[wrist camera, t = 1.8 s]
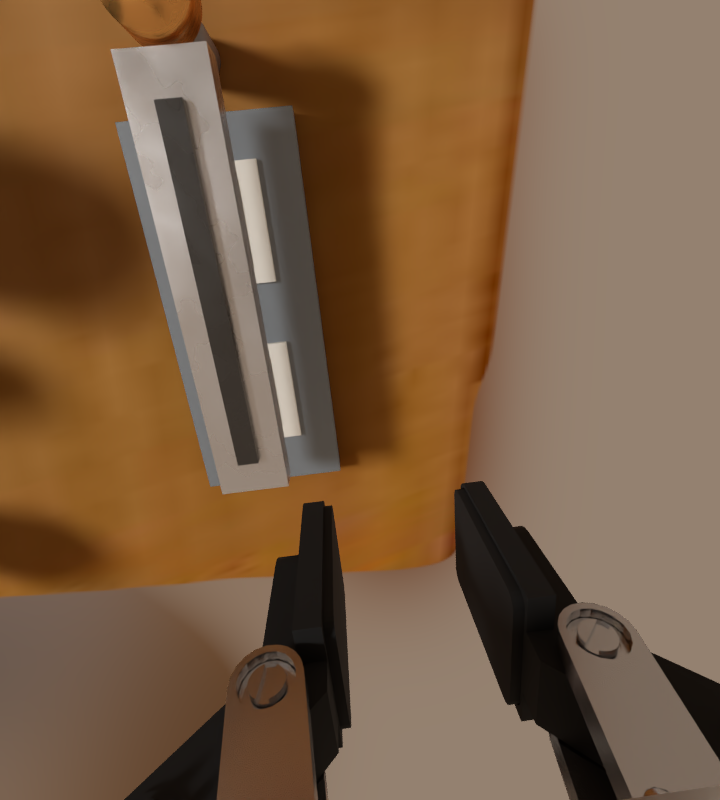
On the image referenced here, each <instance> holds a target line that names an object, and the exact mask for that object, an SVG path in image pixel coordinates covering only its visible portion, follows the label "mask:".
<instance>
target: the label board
mask: <svg viewBox="0 0 720 800" xmlns="http://www.w3.org/2000/svg"><path fill="white" fill-rule="evenodd" d="M200 41H207V43H208V45H209V46H210V48H211V50H212V51H213V53H214V54H215V56H216V62H217V67H218V73H219V71H220V66H221V61H220V55H219V52H218V50H217V48H216V46H215V45H214V43H213V41H212V39H211V38H210V36H209V34H208V33H207V31H206V29H205V27H204V26H203V24H202V22H201V26H200V29H199V32H198V35H197V37H196V38H195V40H194V41H193V42H200ZM226 117H227V123H228V128H229V134H230V139H231V145H232V150H233V156H234V161H235V167H236V172H237V178H238V183H239V189H240V194H241V200H242V206H243V211H244V217H245V222H246V228H247V233H248V239H249V244H250V250H251V255H252V261H253V266H254V272H255V278H256V283H257V289H258V294H259V300H260V305H261V311H262V316H263V322H264V327H265V333H266V338H267V344H268V349H269V355H270V361H271V366H272V372H273V377H274V383H275V388H276V394H277V399H278V405H279V410H280V416H281V421H282V427H283V432H284V438H285V444H286V449H287V455H288V460H289V466H290V471H291V474H290V477H291V476H300V475H308V474H316V473H324V472H332V471H340V459H339V451H338V444H337V436H336V428H335V421H334V413H333V406H332V398H331V390H330V383H329V375H328V368H327V360H326V352H325V345H324V337H323V330H322V322H321V315H320V307H319V299H318V292H317V284H316V277H315V269H314V261H313V254H312V246H311V239H310V231H309V224H308V216H307V208H306V201H305V193H304V186H303V178H302V170H301V163H300V155H299V148H298V140H297V133H296V125H295V117H294V111H293V107H292V106H282V107H271V108H261V109H250V110H240V111H230V112H226ZM115 123H116V127H117V131H118V135H119V139H120V143H121V146H122V150H123V154H124V158H125V162H126V165H127V169H128V173H129V177H130V181H131V185H132V188H133V192H134V196H135V200H136V204H137V208H138V211H139V215H140V219H141V223H142V227H143V230H144V234H145V238H146V242H147V246H148V250H149V253H150V257H151V261H152V265H153V269H154V273H155V276H156V280H157V284H158V288H159V292H160V295H161V299H162V303H163V307H164V311H165V315H166V318H167V322H168V326H169V330H170V334H171V337H172V341H173V345H174V349H175V353H176V357H177V360H178V364H179V368H180V372H181V376H182V380H183V383H184V387H185V391H186V395H187V399H188V402H189V406H190V410H191V414H192V418H193V422H194V425H195V429H196V433H197V437H198V441H199V445H200V448H201V452H202V456H203V460H204V464H205V467H206V471H207V475H208V479H209V483H210V487H211V486H219V485H220V482H219V478H218V474H217V470H216V466H215V462H214V458H213V454H212V450H211V446H210V442H209V438H208V434H207V430H206V426H205V422H204V418H203V414H202V410H201V406H200V402H199V398H198V394H197V390H196V386H195V382H194V378H193V374H192V370H191V366H190V362H189V359H188V355H187V351H186V347H185V343H184V339H183V335H182V331H181V327H180V323H179V319H178V315H177V311H176V307H175V303H174V299H173V295H172V291H171V287H170V283H169V279H168V275H167V271H166V267H165V263H164V259H163V255H162V251H161V247H160V243H159V239H158V235H157V231H156V227H155V223H154V219H153V215H152V211H151V207H150V204H149V200H148V196H147V192H146V188H145V184H144V180H143V176H142V172H141V168H140V164H139V160H138V156H137V152H136V148H135V144H134V140H133V136H132V132H131V128H130V124H129V121H125V122H115Z"/></svg>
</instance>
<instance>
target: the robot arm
mask: <svg viewBox="0 0 720 800" xmlns="http://www.w3.org/2000/svg"><path fill="white" fill-rule="evenodd" d="M454 497H455V540H456V570H457V576H458V580H459V583H460V586H461V588H462V591H463V593H464V596H465V599H466V601H467V604H468V606H469V609H470V612H471V614H472V617H473V619H474V622H475V624H476V627H477V630H478V632H479V635H480V637H481V640H482V642H483V645H484V648H485V650H486V653H487V655H488V658H489V661H490V663H491V666H492V669H493V671H494V674H495V676H496V679H497V682H498V684H499V687H500V689H501V692H502V694H503V697H504V699H505V702H506V703H507V704H508V705H511V704H515V706H516V709H517V711H518V714H519V716H520V719H521V721H527V720H533V719H534V721H535V723H536V724H537V725H538V726H540V727H542V728H543V729H545V730H546V731H548V732H549V737H550V741H551V744H552V747H553V750H554V753H555V756H556V759H557V762H558V766H559V768H560V772H561V775H562V778H563V781H564V784H565V787H566V790H567V793H568V796H569V799H570V800H720V684H719V683H717V682H715V681H712V680H710V679H708V678H706V677H704V676H701V675H699V674H697V673H695V672H693V671H691V670H688V669H686V668H684V667H682V666H680V665H677V664H675V663H673V662H671V661H669V660H666V659H664V658H662V657H660V656H658V655H656V654H653V653H651V652H650V650H649V649H648V647H647V646H646V644H645V643H644V641H643V639H642V638H641V636H640V635H639V633H638V632H637V630H636V629H635V628H634V627H633V626H632V624H631V623H630V622H629V621H628V620H627V619H625V618H624V617H623V616H621V615H620V614H619V613H617V612H615V611H613V610H611V609H609V608H607V607H605V606H601V605H598V604H595V603H583V602H582V603H577V602H576V600H575V599H574V597H573V596H572V594H571V593H570V592H569V590H568V589H567V587H566V586H565V584H564V583H563V582H562V580H561V578H560V577H559V576H558V574H557V573H556V571H555V570H554V568H553V567H552V565H551V564H550V562H549V561H548V560H547V558H546V557H545V555H544V554H543V552H542V551H541V549H540V548H539V547H538V545H537V544H536V542H535V541H534V539H533V538H532V536H531V535H530V533H529V532H528V531H527V530H526V528H525V527H523V526H518V527H512V525H511V524H510V522H509V520H508V519H507V517H506V516H505V514H504V513H503V511H502V510H501V508H500V507H499V505H498V504H497V502H496V500H495V499H494V497H493V496H492V494H491V493H490V491H489V489H488V488H487V486H486V485H485V483H484V482H483V481H479V482H471V483H463V484H461V489H458V490H455V494H454ZM347 652H348V650H347V632H346V610H345V593H344V583H343V577H342V569H341V562H340V555H339V548H338V542H337V535H336V528H335V521H334V514H333V508H332V506H325V504H324V501H320V502H312V503H304V504H303V512H302V523H301V534H300V545H299V555H295V556H287V557H280V558H278V559H277V561H276V566H275V572H274V578H273V586H272V592H271V598H270V604H269V610H268V617H267V623H266V630H265V636H264V642H263V647H261V648H259V649H256V650H254V651H253V652H251V653H250V654H248V655H247V656H245V657H244V658H243V659H242V661H241V662H240V663H239V664H238V665H237V666H236V667H235V669H234V671H233V673H232V674H231V676H230V680H229V684H228V687H227V697H226V704H225V705H224V706H223V707H222V708H221V709H220V710H219V711H218V712H216V713H215V714H214V715H213V716H212V717H211V718H210V719H209V720H208V721H207V722H206V723H205V724H204V725H203V726H202V727H201V728H200V729H198V730H197V731H196V732H195V733H194V734H193V735H192V736H191V737H190V738H189V739H188V740H187V741H186V742H185V743H184V744H183V745H182V746H181V747H180V748H179V749H177V751H175V752H174V753H173V754H172V755H171V756H170V757H169V758H168V759H167V760H166V761H165V762H164V763H162V765H160V766H159V767H158V768H157V769H156V770H155V771H154V772H153V773H152V774H151V775H150V776H149V777H148V778H147V779H146V780H145V781H144V782H142V783H141V784H140V785H139V786H138V787H137V788H136V789H135V790H134V791H133V792H132V793H131V794H130V795H129V796H128V797H127V798H125V799H124V800H328V792H327V783H326V773H325V770H326V769H327V767H328V766H329V765H330V763H331V762H332V761H333V759H334V758H335V757H336V756H337V754H338V753H339V750H338V749H339V748H341V747H343V745H342V744H343V742H342V729H344V728H351V710H350V690H349V670H348V653H347Z"/></svg>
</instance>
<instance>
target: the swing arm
mask: <svg viewBox="0 0 720 800" xmlns="http://www.w3.org/2000/svg"><path fill="white" fill-rule="evenodd" d="M101 2H102V3H103V5H104V6H105V8H106V9H107V10H108V11H109V13H110V14H111V15H112V16H113V17H114V18H115V19H116V20H117V21H118V22H119V23H120V24H121V25H122V26H123V27H124V28H125V29H126V30H127V31H128V33H129V34H130V35H131V36H132V37H133V38H134V39H135V40H136V41H137V42H138V43H139V44H141V45H142V46H143V47H134V48H123V49H112V50H111V52H112V56H113V60H114V64H115V68H116V72H117V76H118V80H119V84H120V88H121V92H122V96H123V100H124V104H125V108H126V112H127V116H128V120H129V124H130V128H131V132H132V136H133V140H134V144H135V148H136V152H137V156H138V160H139V164H140V168H141V172H142V176H143V180H144V184H145V188H146V192H147V196H148V200H149V204H150V207H151V211H152V215H153V219H154V223H155V227H156V231H157V235H158V239H159V243H160V247H161V251H162V255H163V259H164V263H165V267H166V271H167V275H168V279H169V283H170V287H171V291H172V295H173V299H174V303H175V307H176V311H177V315H178V319H179V323H180V327H181V331H182V335H183V339H184V343H185V347H186V351H187V355H188V359H189V362H190V366H191V370H192V374H193V378H194V382H195V386H196V390H197V394H198V398H199V402H200V406H201V410H202V414H203V418H204V422H205V426H206V430H207V434H208V438H209V442H210V446H211V450H212V454H213V458H214V462H215V466H216V470H217V474H218V478H219V482H220V486H221V490H222V494H228V493H237V492H245V491H253V490H261V489H269V488H277V487H285V486H289V481H290V474H291V471H290V466H289V460H288V455H287V449H286V444H285V438H284V432H283V427H282V421H281V416H280V410H279V405H278V399H277V394H276V388H275V383H274V377H273V372H272V366H271V361H270V355H269V349H268V344H267V338H266V333H265V327H264V322H263V316H262V311H261V305H260V300H259V294H258V289H257V283H256V278H255V272H254V266H253V261H252V255H251V250H250V244H249V239H248V233H247V228H246V222H245V217H244V211H243V206H242V200H241V194H240V189H239V183H238V178H237V172H236V167H235V161H234V156H233V150H232V145H231V139H230V134H229V128H228V123H227V117H226V111H225V106H224V100H223V95H222V89H221V84H220V78H219V73H218V67H217V62H216V56H215V54H214V53H213V51H212V50H211V48H210V46H209V45H208V43H207V41H200V42H193V41H194V40H195V38H196V37H197V35H198V32H199V29H200V26H201V21H202V5H201V0H101Z"/></svg>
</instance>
